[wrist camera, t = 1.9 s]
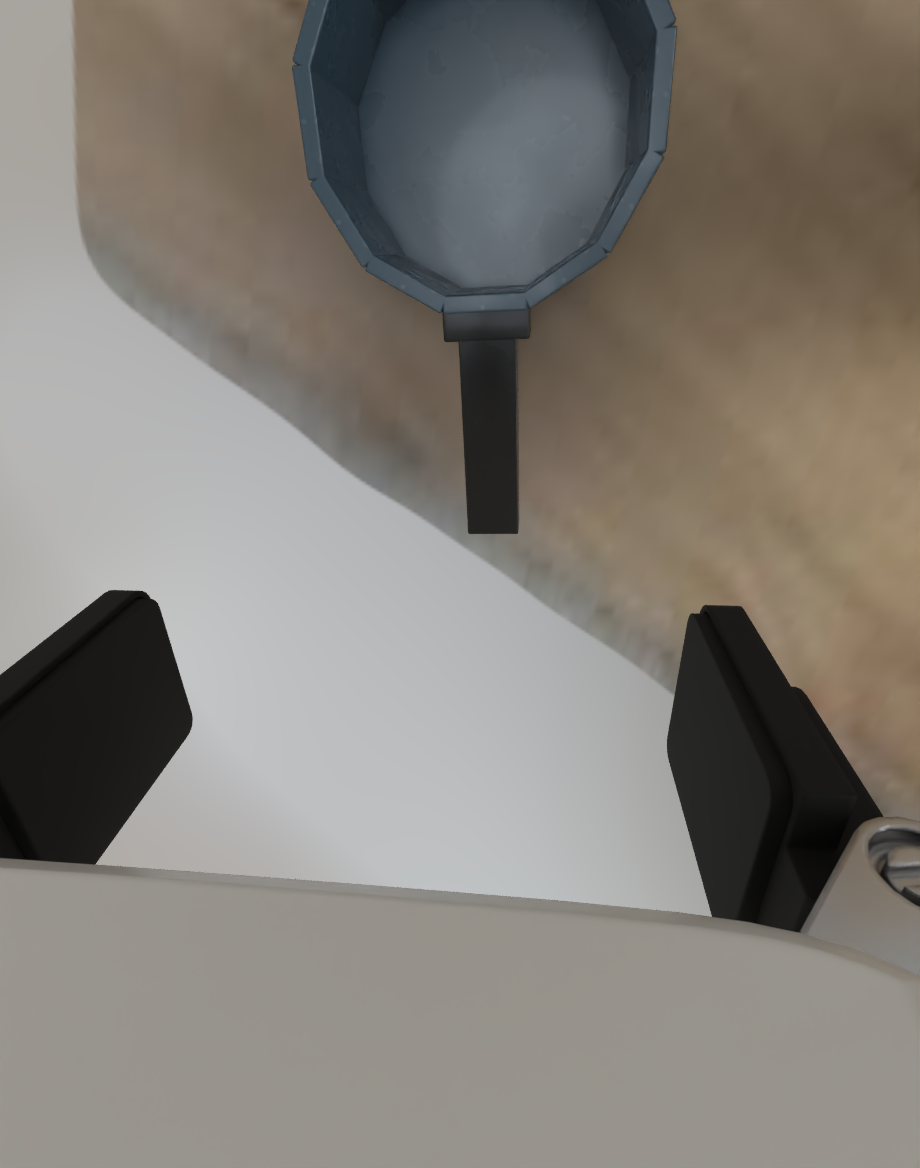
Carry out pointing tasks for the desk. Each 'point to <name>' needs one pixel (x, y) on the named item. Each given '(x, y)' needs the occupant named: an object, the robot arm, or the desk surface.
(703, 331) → the desk surface
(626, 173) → the saucepan
